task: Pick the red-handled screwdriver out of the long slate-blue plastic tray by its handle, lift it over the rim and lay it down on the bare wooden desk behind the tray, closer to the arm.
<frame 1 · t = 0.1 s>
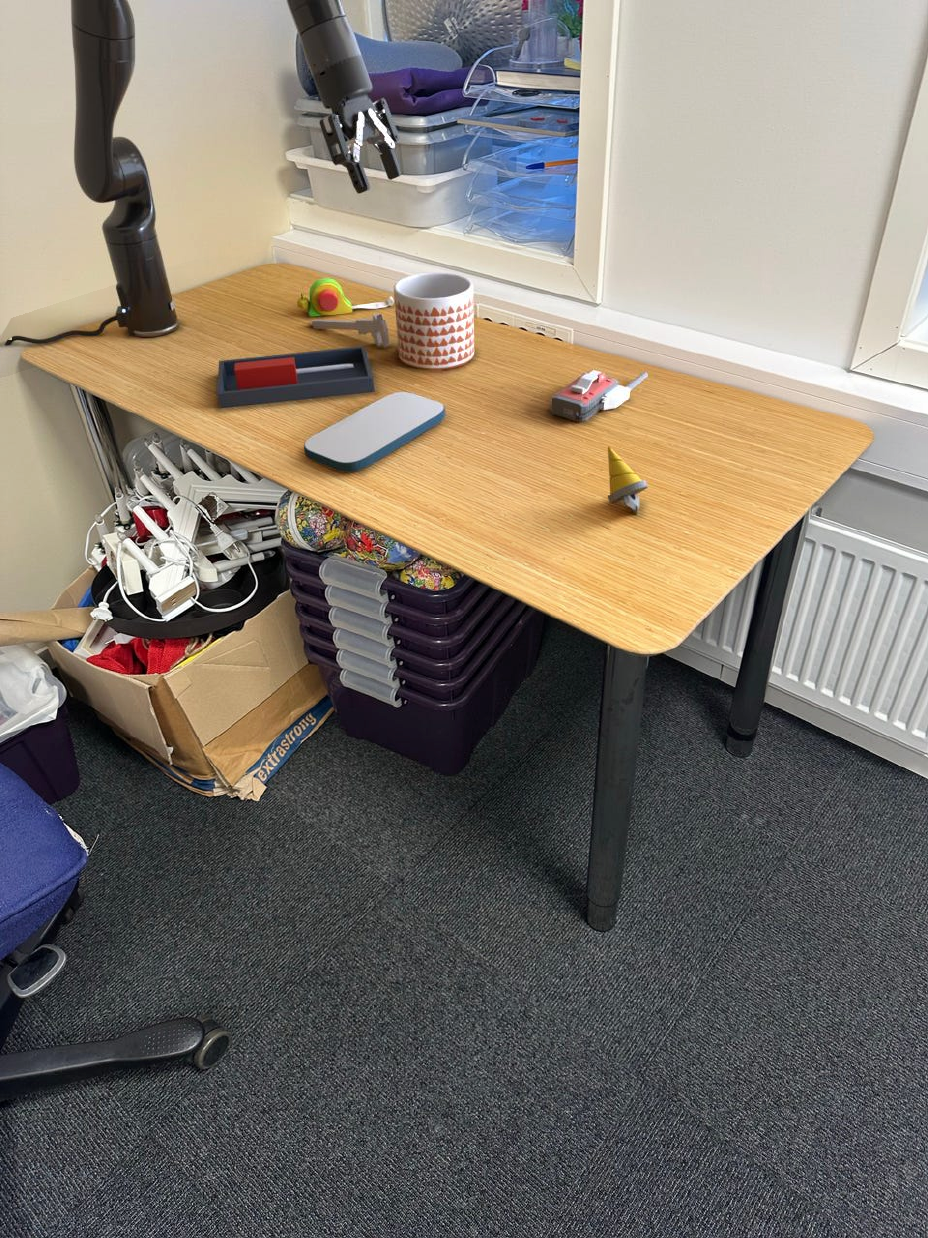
hand: (380, 184, 129), 31 cm above the table, tool tilted 20°, fingers open, 8 cm apart
screwdriver: (286, 383, 149), resting on tray
caliper: (348, 338, 166), on the table
yellow cone: (619, 505, 118), on the table
tray: (296, 384, 150), on the table
planter: (436, 356, 158), on the table
external hard drive: (377, 437, 135), on the table
walkie-talkie: (598, 400, 142), on the table
toy measuring tape: (347, 311, 176), on the table
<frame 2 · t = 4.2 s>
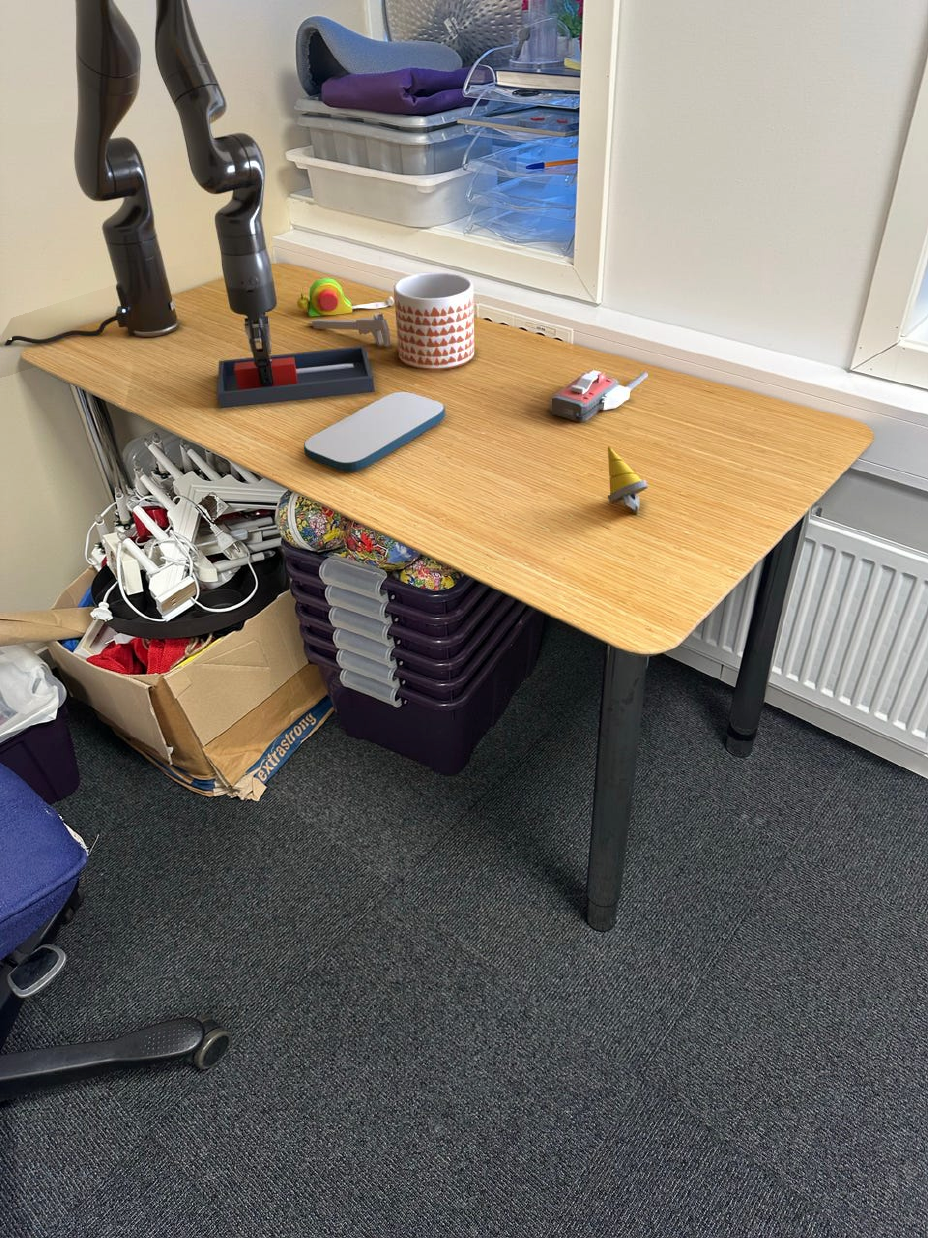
hand: (267, 380, 148), 1 cm above the table, tool pointing down, fingers closed on screwdriver, 3 cm apart
screwdriver: (286, 383, 149), resting on tray, touching gripper
everything else where it was.
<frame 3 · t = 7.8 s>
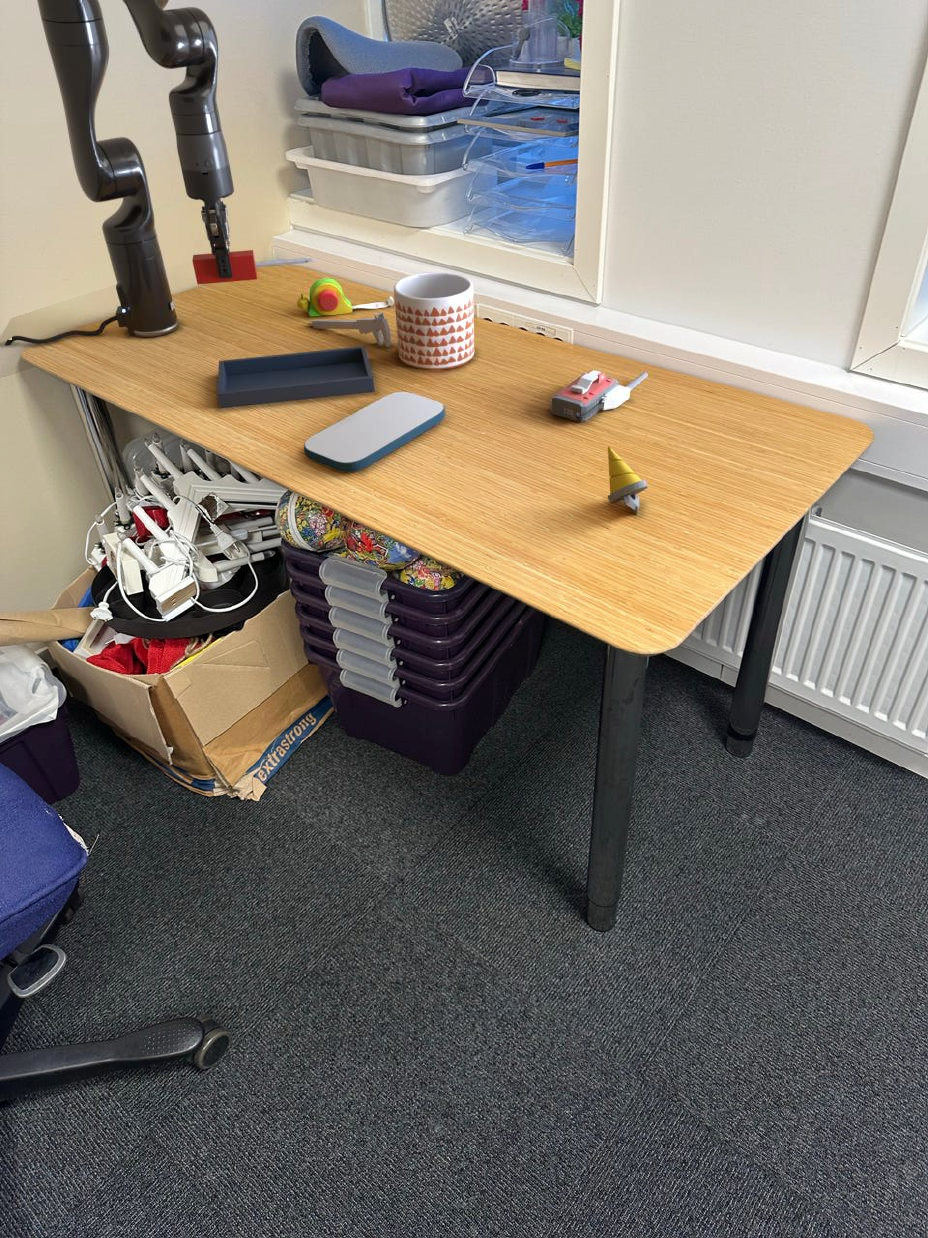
hand: (226, 273, 148), 16 cm above the table, tool pointing down, fingers closed on screwdriver, 3 cm apart
screwdriver: (245, 277, 149), point 15 cm above the table, touching gripper
everything else where it was.
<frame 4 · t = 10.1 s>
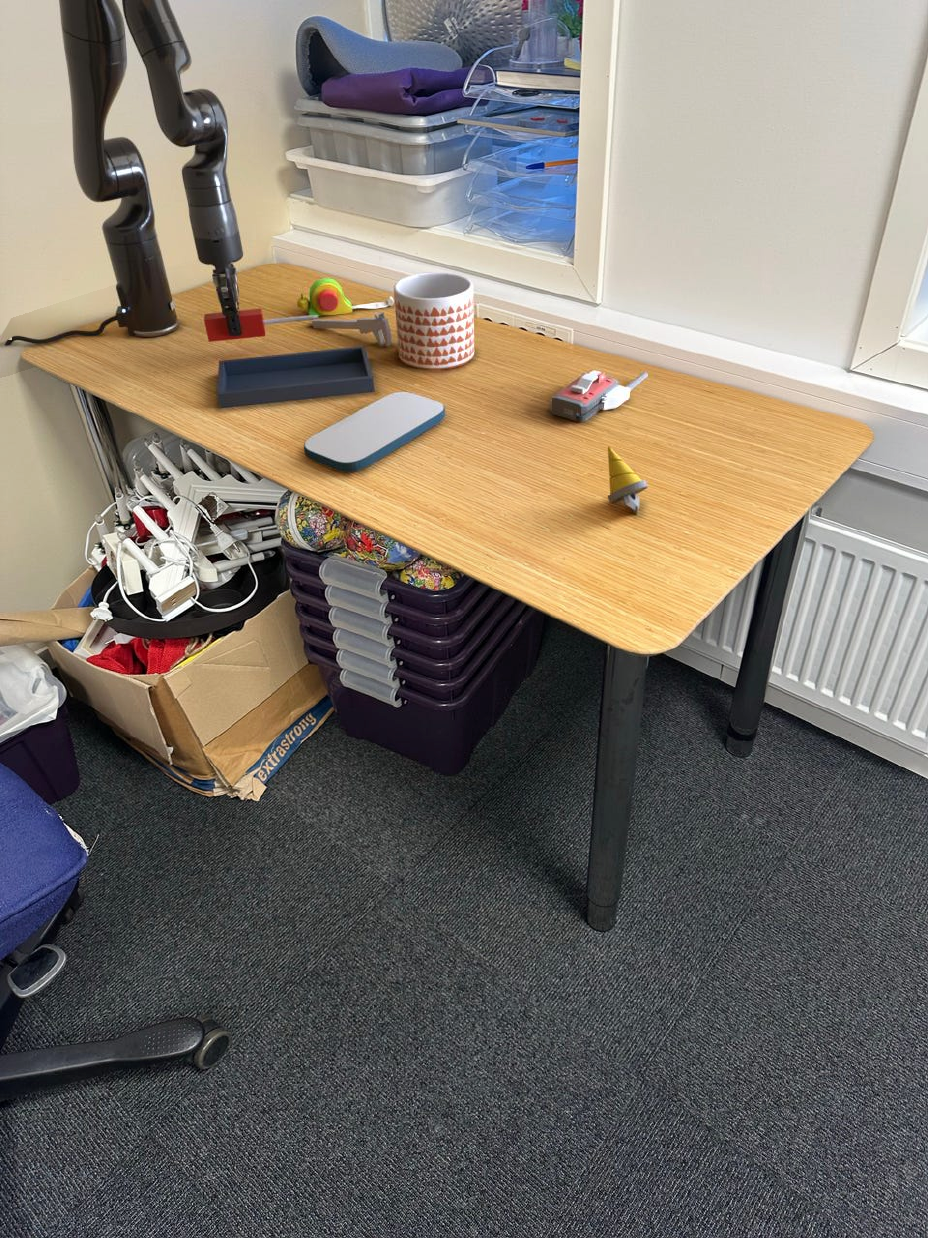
hand: (236, 330, 156), 5 cm above the table, tool pointing down, fingers closed on screwdriver, 3 cm apart
screwdriver: (254, 334, 157), point 4 cm above the table, touching gripper
everything else where it was.
when the fingers open (1 cm above the table, at t = 11.5 s): screwdriver stays where it is, on the table.
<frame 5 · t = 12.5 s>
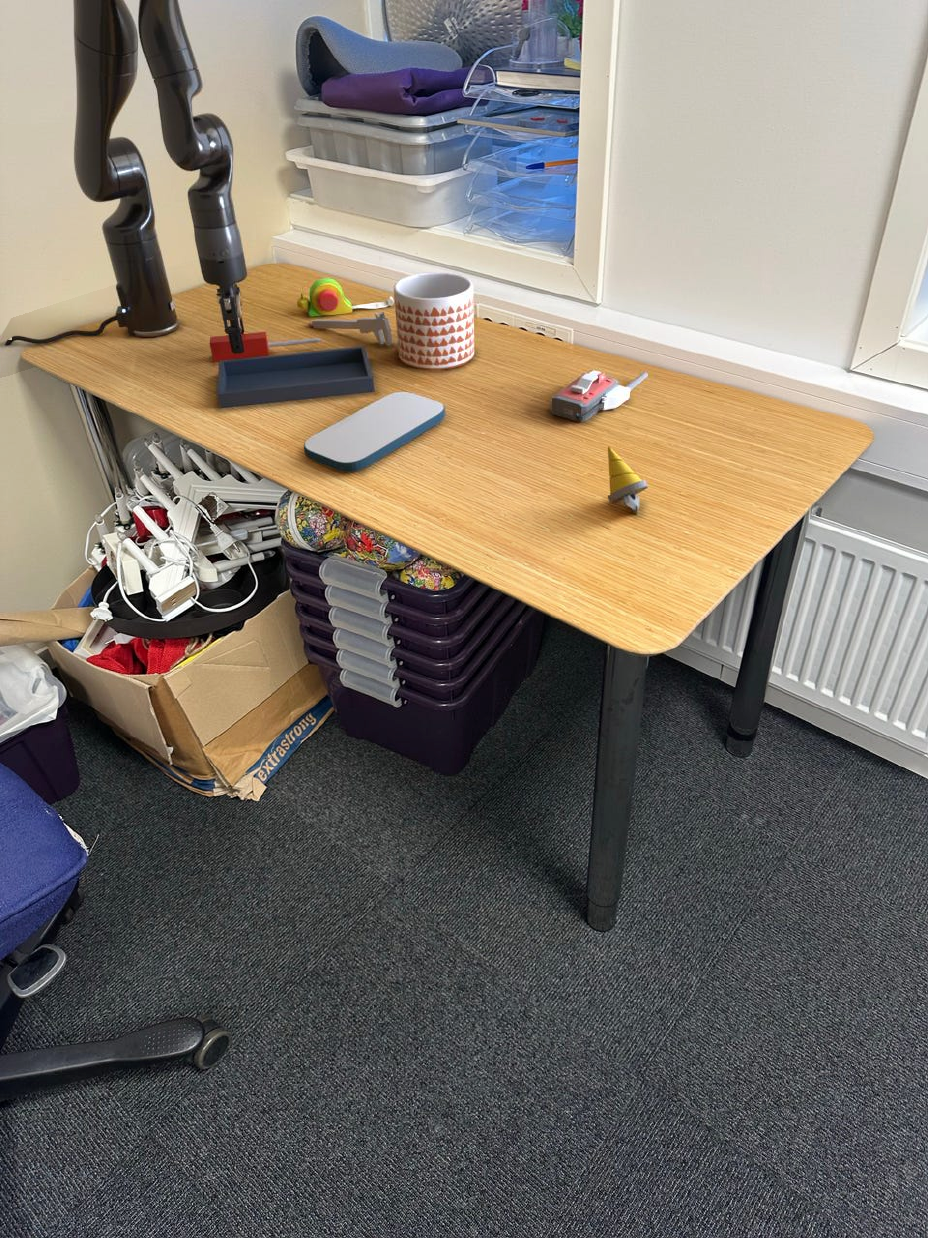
hand: (238, 343, 157), 3 cm above the table, tool pointing down, fingers open, 8 cm apart
screwdriver: (258, 356, 159), on the table
everything else where it was.
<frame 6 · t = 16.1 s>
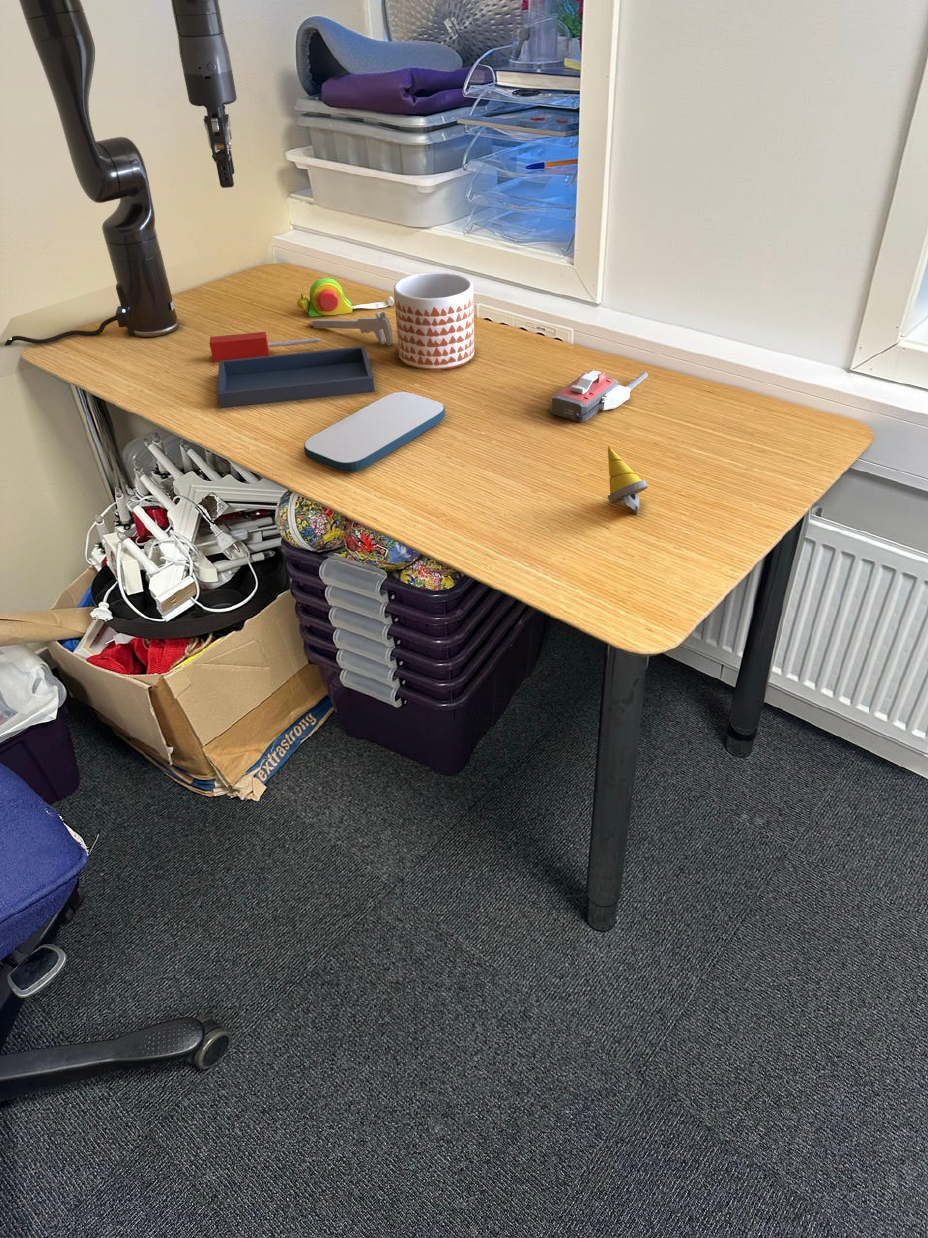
hand: (228, 180, 147), 28 cm above the table, tool pointing down, fingers open, 8 cm apart
nothing on the table moved.
at the end: screwdriver inside the target area (0.1 cm from its centre), on the table; screwdriver touching table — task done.
